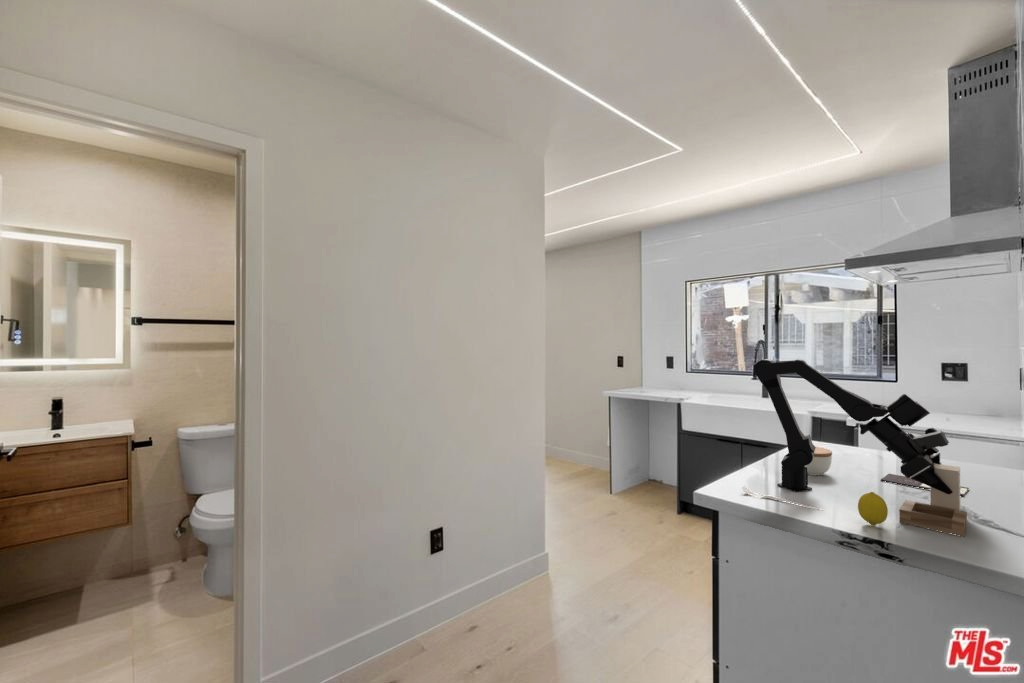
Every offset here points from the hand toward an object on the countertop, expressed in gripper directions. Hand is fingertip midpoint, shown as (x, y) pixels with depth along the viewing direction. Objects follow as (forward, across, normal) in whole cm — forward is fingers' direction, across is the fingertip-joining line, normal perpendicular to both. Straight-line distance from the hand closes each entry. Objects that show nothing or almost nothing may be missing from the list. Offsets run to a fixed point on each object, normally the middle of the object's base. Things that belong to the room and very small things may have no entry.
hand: (952, 488), depth 111 cm
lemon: (-4, -20, +14) cm, 25 cm away
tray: (+3, -9, +7) cm, 12 cm away
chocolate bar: (0, +25, +11) cm, 27 cm away
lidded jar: (-19, +16, +29) cm, 38 cm away
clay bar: (+4, 0, +6) cm, 7 cm away
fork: (-18, -18, +28) cm, 38 cm away
